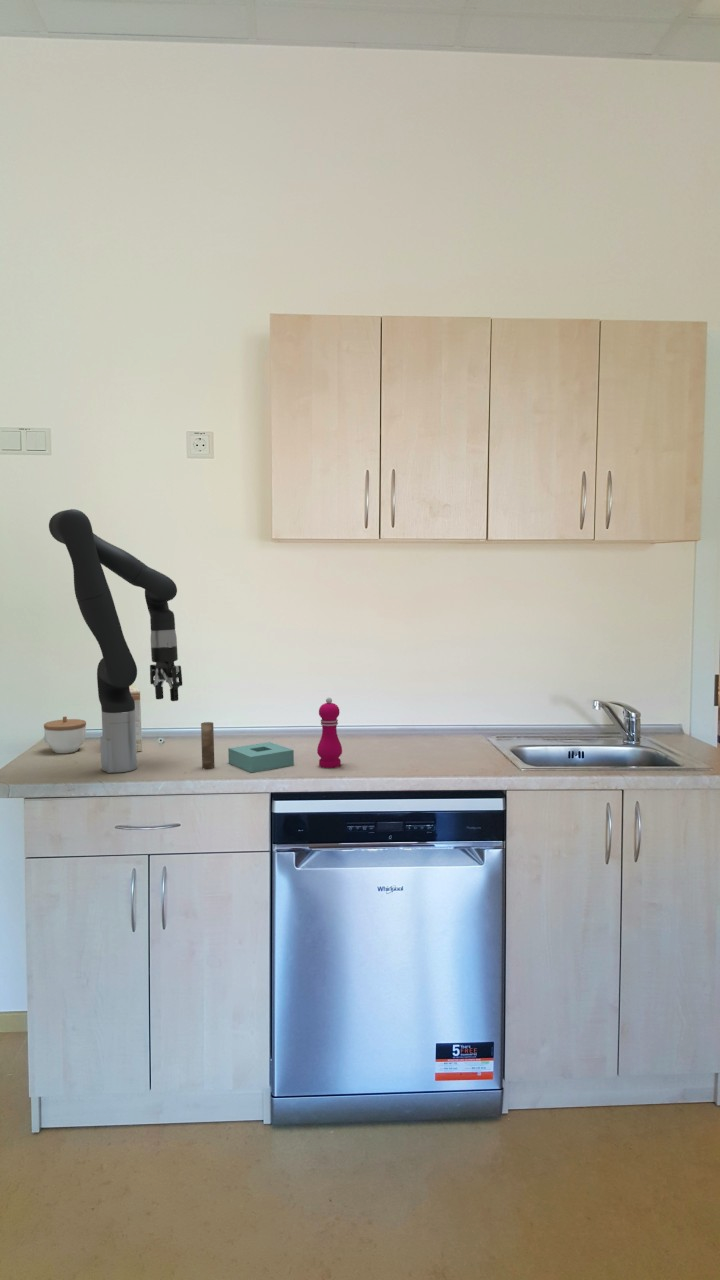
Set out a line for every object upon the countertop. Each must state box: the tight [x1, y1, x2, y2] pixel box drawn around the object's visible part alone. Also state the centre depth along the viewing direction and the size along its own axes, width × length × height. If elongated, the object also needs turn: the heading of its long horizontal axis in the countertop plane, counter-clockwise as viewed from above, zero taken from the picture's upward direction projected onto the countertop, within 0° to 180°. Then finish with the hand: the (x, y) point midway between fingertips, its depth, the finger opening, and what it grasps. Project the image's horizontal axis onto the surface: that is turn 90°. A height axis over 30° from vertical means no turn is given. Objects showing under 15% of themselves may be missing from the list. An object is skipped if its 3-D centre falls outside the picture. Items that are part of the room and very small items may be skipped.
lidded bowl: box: [43, 716, 87, 754], centre depth 258 cm, size 13×13×11 cm
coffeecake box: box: [129, 684, 143, 753], centre depth 261 cm, size 15×7×20 cm, turn 21°
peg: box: [200, 721, 216, 770], centre depth 235 cm, size 4×4×13 cm
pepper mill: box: [316, 697, 343, 769], centre depth 235 cm, size 7×7×20 cm
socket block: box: [228, 741, 295, 773], centre depth 238 cm, size 14×14×4 cm
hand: (167, 700), depth 240 cm, fingers open, 8 cm apart
